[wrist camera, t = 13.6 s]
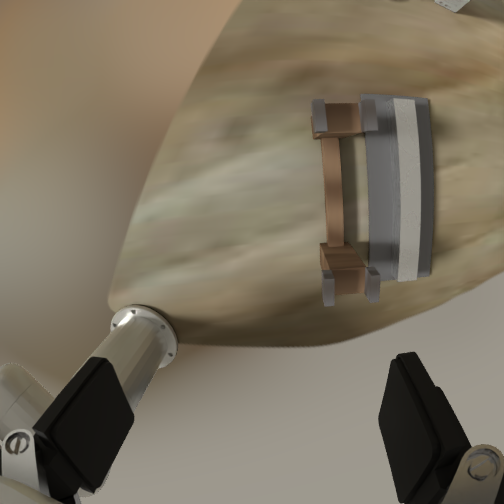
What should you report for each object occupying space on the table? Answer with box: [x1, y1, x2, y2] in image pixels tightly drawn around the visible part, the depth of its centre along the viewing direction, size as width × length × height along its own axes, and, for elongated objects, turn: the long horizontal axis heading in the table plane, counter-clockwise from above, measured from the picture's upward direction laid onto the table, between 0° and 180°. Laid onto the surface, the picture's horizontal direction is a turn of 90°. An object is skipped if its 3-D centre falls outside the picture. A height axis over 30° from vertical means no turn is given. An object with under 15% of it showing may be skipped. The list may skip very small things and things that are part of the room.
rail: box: [386, 98, 421, 282], centre depth 35 cm, size 24×3×3 cm, turn 5°
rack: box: [311, 99, 381, 306], centre depth 33 cm, size 20×6×12 cm, turn 5°
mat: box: [360, 94, 434, 281], centre depth 37 cm, size 26×10×1 cm, turn 5°
